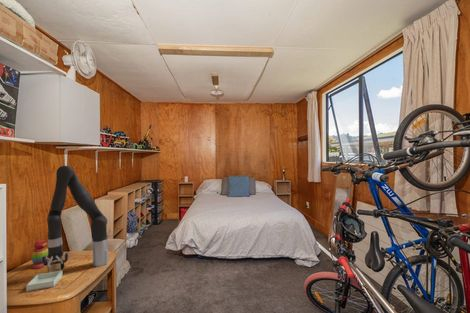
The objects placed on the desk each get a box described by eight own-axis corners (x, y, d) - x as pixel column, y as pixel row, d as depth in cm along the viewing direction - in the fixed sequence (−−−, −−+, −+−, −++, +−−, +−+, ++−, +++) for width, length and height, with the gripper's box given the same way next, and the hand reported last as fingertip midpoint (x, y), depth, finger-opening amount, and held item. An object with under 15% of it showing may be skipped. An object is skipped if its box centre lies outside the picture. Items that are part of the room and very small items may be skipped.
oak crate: (63, 268, 152) (63, 259, 152) (60, 272, 146) (59, 263, 146) (52, 270, 150) (52, 261, 150) (48, 274, 144) (48, 265, 144)
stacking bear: (38, 269, 154) (38, 243, 154) (27, 268, 156) (26, 242, 156) (54, 261, 164) (53, 237, 164) (43, 260, 166) (42, 236, 166)
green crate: (62, 275, 145) (62, 270, 145) (53, 286, 132) (53, 280, 132) (37, 279, 140) (37, 274, 140) (26, 291, 128) (26, 285, 128)
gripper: (70, 240, 154) (71, 265, 154) (44, 244, 149) (45, 269, 149) (66, 244, 147) (67, 270, 147) (38, 248, 142) (40, 275, 142)
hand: (56, 269), depth 148 cm, fingers closed on oak crate, 6 cm apart
